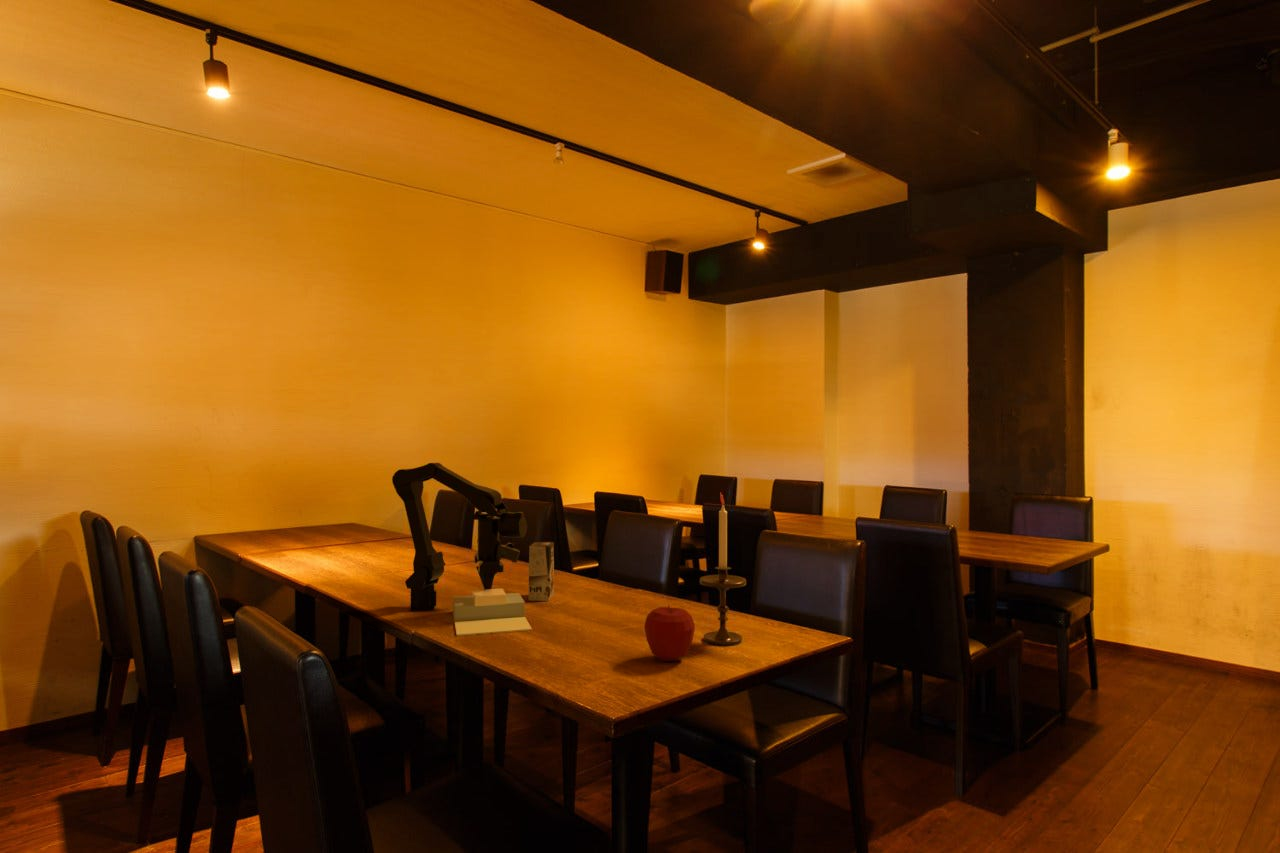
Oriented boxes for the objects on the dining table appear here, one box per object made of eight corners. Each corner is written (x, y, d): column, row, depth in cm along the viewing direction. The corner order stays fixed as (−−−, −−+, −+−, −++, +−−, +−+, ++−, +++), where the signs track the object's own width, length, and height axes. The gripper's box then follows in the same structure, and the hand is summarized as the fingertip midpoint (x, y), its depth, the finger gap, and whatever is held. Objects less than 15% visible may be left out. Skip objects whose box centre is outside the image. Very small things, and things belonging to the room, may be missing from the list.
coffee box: (549, 601, 202) (550, 546, 203) (527, 601, 202) (528, 545, 203) (554, 594, 211) (554, 541, 212) (533, 594, 211) (533, 541, 212)
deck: (454, 622, 178) (454, 606, 178) (452, 611, 190) (452, 596, 190) (524, 617, 183) (524, 602, 184) (518, 607, 195) (518, 592, 195)
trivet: (474, 606, 179) (475, 596, 179) (472, 599, 187) (472, 590, 187) (506, 604, 182) (506, 594, 182) (502, 597, 189) (502, 588, 189)
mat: (456, 636, 166) (456, 634, 166) (454, 623, 177) (454, 621, 177) (531, 630, 171) (531, 628, 171) (525, 618, 183) (525, 616, 183)
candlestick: (709, 648, 157) (710, 494, 158) (693, 635, 167) (693, 490, 168) (753, 645, 160) (753, 493, 160) (734, 632, 170) (735, 490, 171)
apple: (656, 670, 142) (656, 613, 142) (636, 655, 152) (636, 601, 152) (703, 663, 146) (703, 608, 146) (680, 649, 156) (681, 597, 156)
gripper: (522, 539, 183) (522, 599, 183) (513, 530, 201) (513, 584, 200) (479, 541, 179) (479, 602, 179) (474, 532, 197) (473, 587, 197)
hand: (488, 593), depth 189 cm, fingers closed
